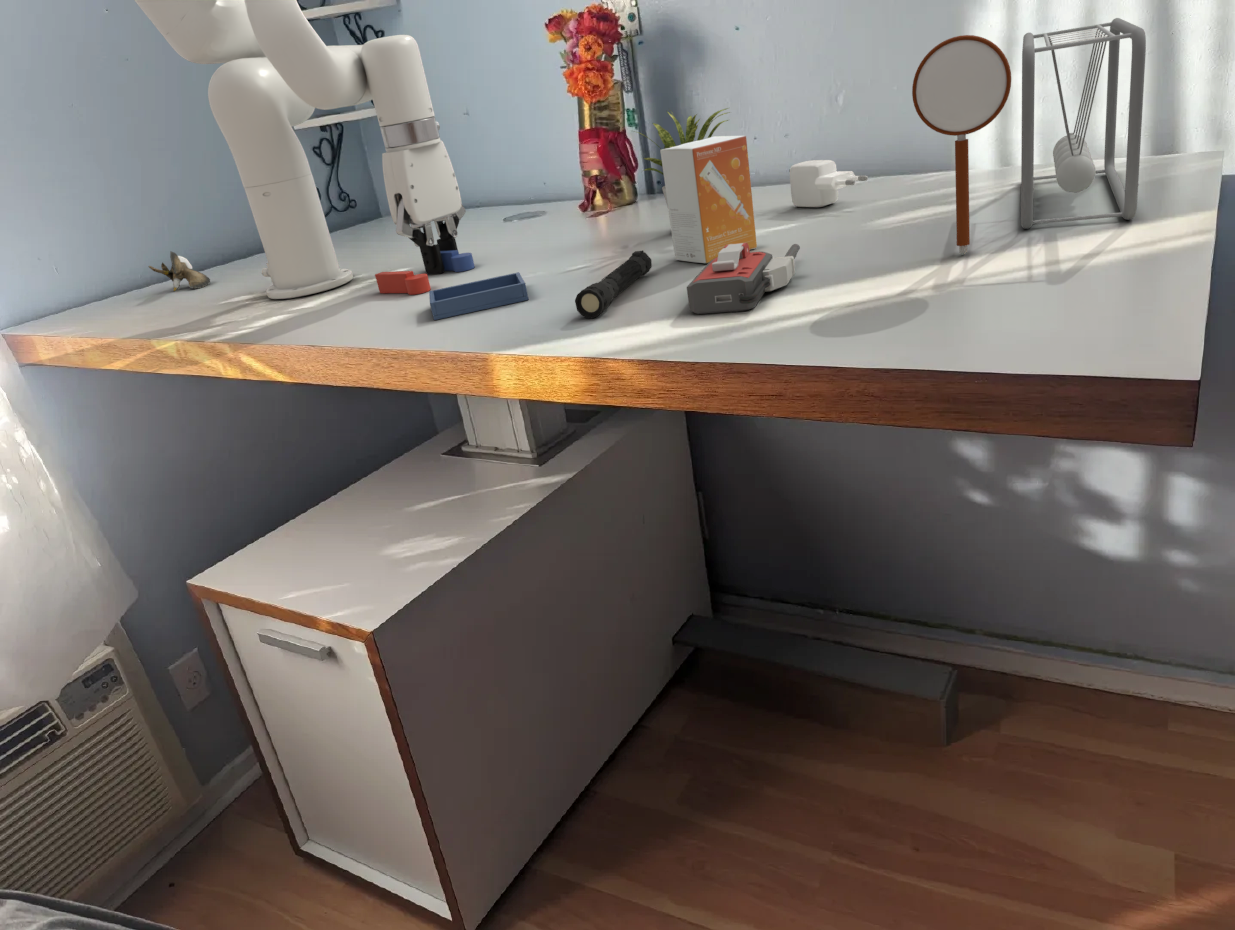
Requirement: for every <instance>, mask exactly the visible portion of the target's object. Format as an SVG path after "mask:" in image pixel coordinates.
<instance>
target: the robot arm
mask: <svg viewBox="0 0 1235 930" xmlns="http://www.w3.org/2000/svg"><path fill="white" fill-rule="evenodd" d="M133 1H134V2H135V3H136V4H137V6H138V7H139V8H140V10H142V12H143V14H145V16H146V17H147V19H149V21H150V22H151V23H152V24H153V26H154V27H155V28H156V29H157V31H158V32H159V33H160V34H161V36H162V37H163V38H164V39H165V41H166V42H167V43H168V44H169V46H170V47H171V48H172V49H173V50H174V52H176V53H177V55H178V56H180V57H181V58H182V59H184V60H186V61H188V62H190V63H192V64H199V65H217V64H221V65H220V66H219V67H218V68H217V69H216V70H215V71H214V72H213V74H212V75H211V78H210V80H209V82H208V86H207V87H208V88H207V98H208V103H209V107H210V110H211V113H212V116H213V117H214V118H213V119H214V120H215V122H216V124H217V126H218V128H219V130H220V131H221V132H220V133H222V135H223V137H224V139H225V141H226V143H227V145H228V148H229V151H230V153H231V155H232V159H233V160H234V163H235V166H236V169H237V172H238V174H239V178H240V180H241V183H242V187H243V189H244V192H245V195H246V198H247V202H248V205H249V207H250V210H251V213H252V216H253V220H254V223H255V227H256V230H257V232H258V235H259V238H260V241H261V245H262V248H263V250H264V254H265V257H266V260H267V262H266V267H263V268H262V269H261V275H262V276H263V277H265V278H270V279H271V283H272V285H270V286H269V287H267V288H266V290H265V292H266V295H267V298H269V299H272V300H284V299H285V300H286V299H294V298H300V297H305V296H310V295H314V294H317V293H322V292H325V291H328V290H332V289H335V288H338V287H340V286H343V285H345V284H348V283H349V282H351V281H352V280H353V278H354V275H353V271H352V270H351V269H348V268H340V264H339V261H338V257H337V254H336V251H335V248H334V247H335V246H334V244H333V239H332V237H331V233H330V230H329V227H328V223H327V220H326V216H325V212H324V210H323V206H322V202H321V200H320V197H319V193H318V189H317V185H316V182H315V178H314V176H313V173H312V170H311V166H310V163H309V160H308V157H307V155H306V151H305V150H304V147H303V145H302V143H301V141H300V139H299V138H298V135H297V134H296V132H295V130H294V129H293V127H295V126H298V125H301V124H303V123H305V122H306V121H307V120H309V119H310V118H311V117H312V115H313V113H314V112H315V109H318V110H323V111H324V110H325V111H328V110H335V109H340V108H347V107H354V106H358V105H362V104H365V103H368V102H370V101H372V102H373V106H374V111H375V114H376V117H377V121H378V126H379V129H380V133H381V137H382V141H383V144H384V148H385V152H382V153H381V161H382V173H383V175H382V176H383V181H384V182H383V183H384V188H385V193H386V197H387V203H388V208H389V212H390V215H391V219H392V222H393V224H394V225H396V226H395V227H396V228H395V232H396V233H395V234H397V235H398V236H402V237H405V238H408V239H409V240H411V242H413V243H414V246H415V247H416V248H417V247H418V248H419V250H420V255H421V258H422V262H423V266H424V270H425V274H427V275H433V274H434V275H435V274H436V275H437V274H443V273H445V271H444V265H443V261H442V257H441V253H440V251H449V250H458V251H459V249H458V245H457V240H456V238H457V237H458V234H459V233H458V230H457V229H458V227H459V224H460V221H461V220H462V218H463V217H464V216H465V215H466V208H465V206H464V204H463V203H462V196H461V192H460V189H459V188H460V187H459V184H458V180H457V176H456V172H455V170H454V167H453V163H452V160H451V158H450V155H449V153H448V150H447V148H446V145H445V143H444V141H443V140H441V136H440V132H439V131H440V129H441V126H440V123H439V122H438V121H437V120H436V115H435V110H434V107H433V102H432V98H431V94H430V90H429V85H428V81H427V76H426V72H425V68H424V64H423V60H422V55H421V50H420V47H419V45H418V42H417V40H416V39H415V38H414V37H413V36H411V35H410V34H396V35H389V36H382V37H378V38H374V39H371V40H370V39H369V40H368V41H366V42H365V43H363V44H347V45H345V44H344V45H326V43H325V42H324V40H322V39H321V37H320V36H319V34H318V33H317V31H316V30H315V29H314V28H313V26H312V24H311V23H310V22H309V21H308V19H307V18H306V16H305V14H304V13H303V11H302V9H301V7H300V5H299V3H298V0H133ZM431 222H433V223H434V226H435V229H436V233H437V235H438V239H436V244H435V239H434V233H433V228H432V223H431Z"/></svg>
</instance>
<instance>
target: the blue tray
mask: <svg viewBox="0 0 1235 930" xmlns="http://www.w3.org/2000/svg"><path fill="white" fill-rule="evenodd" d="M428 294H429V306H430V310H431V314H432V317H433V318H432V319H433V320H434V321H436V320H437V321H438V320H443V319H446V318H451V317H455V316H460V315H464V314H469V313H474V312H479V311H484V310H488V309H493V308H497V307H502V306H507V305H513V304H516V303H521V302H526V301H529V295H528V290H527V285H526V282H525V280H524V278H523V277H522V275H521V273H520V272H517V271H516V272H512V273H507V274H503V275H499V276H495V277H488V278H485V279H480V280H475V281H471V282H465V283H461V284H456V285H452V286H447V287H441V288H437V289H433V290H432V289H431V290H430V291H428Z"/></svg>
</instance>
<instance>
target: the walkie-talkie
mask: <svg viewBox="0 0 1235 930" xmlns="http://www.w3.org/2000/svg"><path fill="white" fill-rule="evenodd" d="M800 249H801V247H800V245H799V244H797V243H793V244H792V245H791V246H790V248H789V249H788V251H787V252H786V253H785V255H784V256H777V257H776V256H775V257H773V254H772V253H769V252H766V251H761V250H759V251H751V250H749V245H748V243H739V244H730V245H725V247H724V248H723V249H722V250H721V251H720V252H719V254H718V257H717V258H715V259H713V260H711V261H710V262H709V263H706V265H705V266H704V267H703V269H702V270H701V271H700V272H699V273H698V274H697V275H696V276H695V277H694V278H693V280H691V282H690V283H689V284H688V285H687V286H686V293H687V294H686V295H687V301H688V306H689V312H692V313H694V314H696V315H705V314H708V315H709V314H718V313H719V314H720V313H731V312H732V313H733V312H744V311H745V312H746V311H748V310H752V309H754V308H755V307H756V306H757V305H758V303H759V302H760V300H761V299H762V297H763V296H764V294H765V292H772V291H774V290H778V289H780V288H784V287H785V286H787V285H788V284H789V282H790V281H791V279H792V277H793V278H794V276H795V275H796V263H795V259H796V257H797V254H798V252H799V251H800Z"/></svg>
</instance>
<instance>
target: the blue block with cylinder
mask: <svg viewBox="0 0 1235 930" xmlns="http://www.w3.org/2000/svg"><path fill="white" fill-rule="evenodd" d="M440 253H441V257H442V261H443V265H444V272H455V273H461V272H462V273H463V272H468V271H471V270H473V269H474V268H475V267H476V266H475V261H474V256H473V253H472V252H462V253H460V252H459V249H458V250H449V251H440Z"/></svg>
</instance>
